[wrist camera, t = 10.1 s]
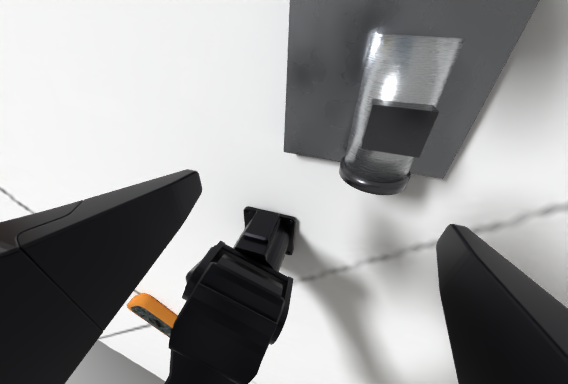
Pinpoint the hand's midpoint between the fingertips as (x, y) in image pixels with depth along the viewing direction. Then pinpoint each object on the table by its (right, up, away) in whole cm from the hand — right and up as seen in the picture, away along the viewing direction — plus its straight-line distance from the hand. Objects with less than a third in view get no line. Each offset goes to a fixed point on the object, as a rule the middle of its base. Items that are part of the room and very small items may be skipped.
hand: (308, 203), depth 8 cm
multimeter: (-32, -31, +52) cm, 68 cm away
